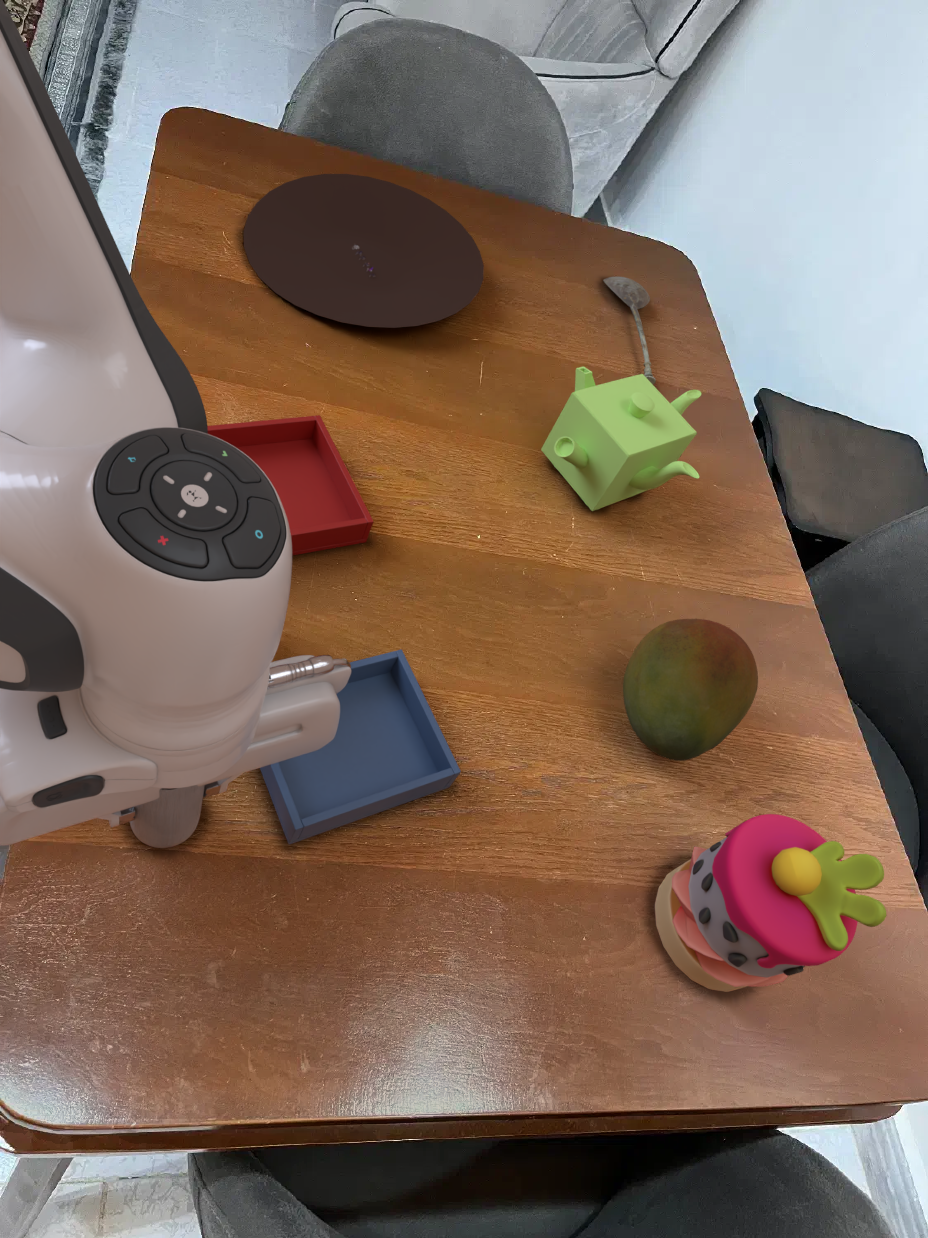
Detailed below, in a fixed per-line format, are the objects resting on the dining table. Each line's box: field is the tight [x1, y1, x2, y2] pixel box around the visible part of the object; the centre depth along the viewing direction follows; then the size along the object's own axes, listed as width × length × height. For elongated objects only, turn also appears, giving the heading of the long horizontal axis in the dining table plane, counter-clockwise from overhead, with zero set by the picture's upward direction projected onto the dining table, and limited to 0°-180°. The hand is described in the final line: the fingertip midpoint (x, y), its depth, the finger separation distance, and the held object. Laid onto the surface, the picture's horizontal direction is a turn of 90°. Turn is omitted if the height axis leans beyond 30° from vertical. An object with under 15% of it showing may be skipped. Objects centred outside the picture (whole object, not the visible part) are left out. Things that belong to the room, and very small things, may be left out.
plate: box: [243, 173, 485, 329], centre depth 99 cm, size 28×28×4 cm
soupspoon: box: [603, 276, 657, 386], centre depth 110 cm, size 22×3×7 cm
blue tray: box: [259, 649, 462, 845], centre depth 63 cm, size 13×11×3 cm
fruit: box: [622, 618, 759, 762], centre depth 72 cm, size 12×13×10 cm
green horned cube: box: [540, 365, 702, 512], centre depth 87 cm, size 15×14×11 cm
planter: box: [129, 785, 205, 849], centre depth 53 cm, size 4×4×10 cm
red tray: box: [207, 414, 374, 557], centre depth 74 cm, size 15×13×3 cm
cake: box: [654, 813, 888, 993], centre depth 60 cm, size 10×11×15 cm
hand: (165, 799), depth 54 cm, fingers closed on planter, 4 cm apart
